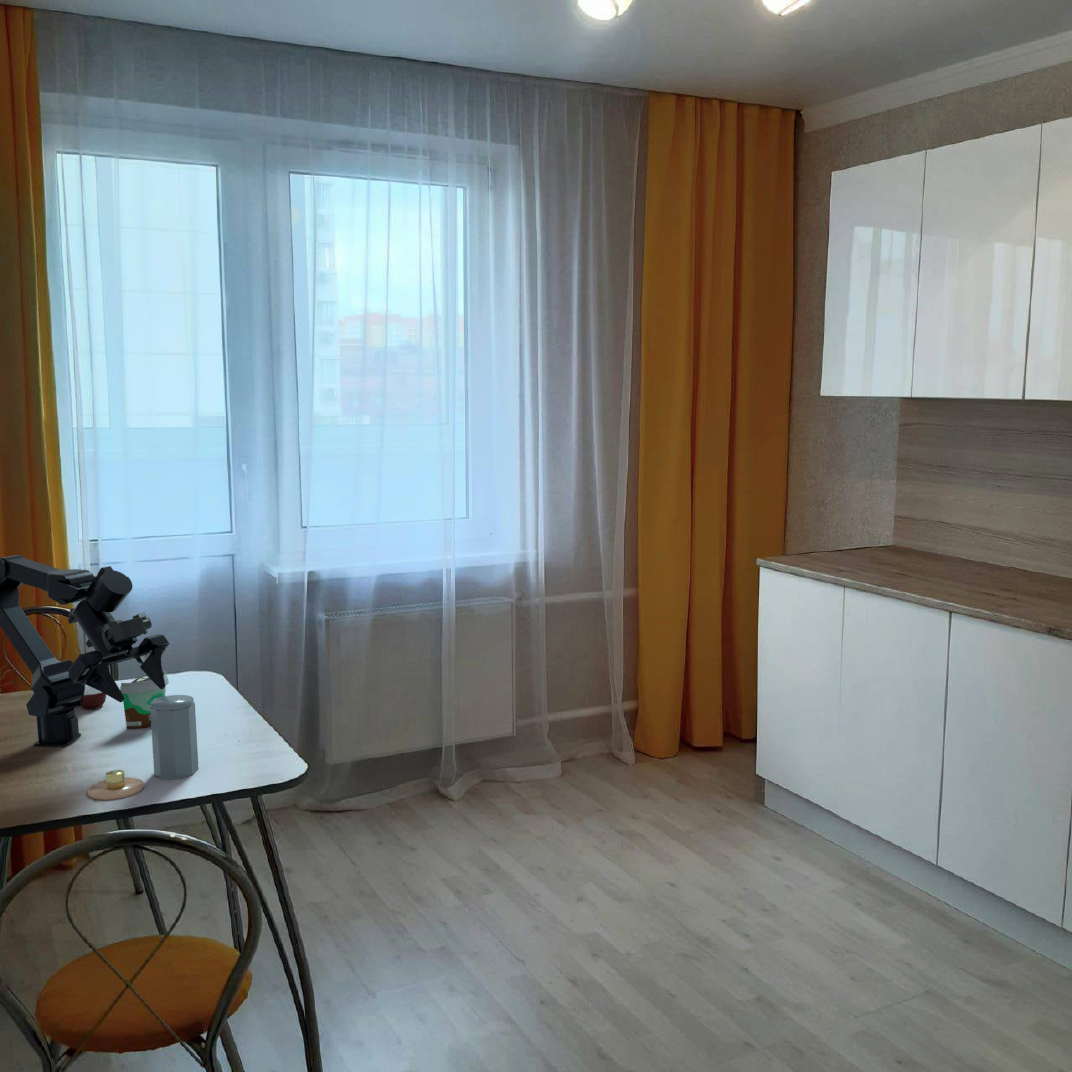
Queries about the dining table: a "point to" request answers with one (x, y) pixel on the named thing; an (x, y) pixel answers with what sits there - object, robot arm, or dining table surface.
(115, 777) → the cylinder
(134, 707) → the food container
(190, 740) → the blue-gray container
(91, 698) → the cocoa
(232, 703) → the dining table surface
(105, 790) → the terracotta coaster
